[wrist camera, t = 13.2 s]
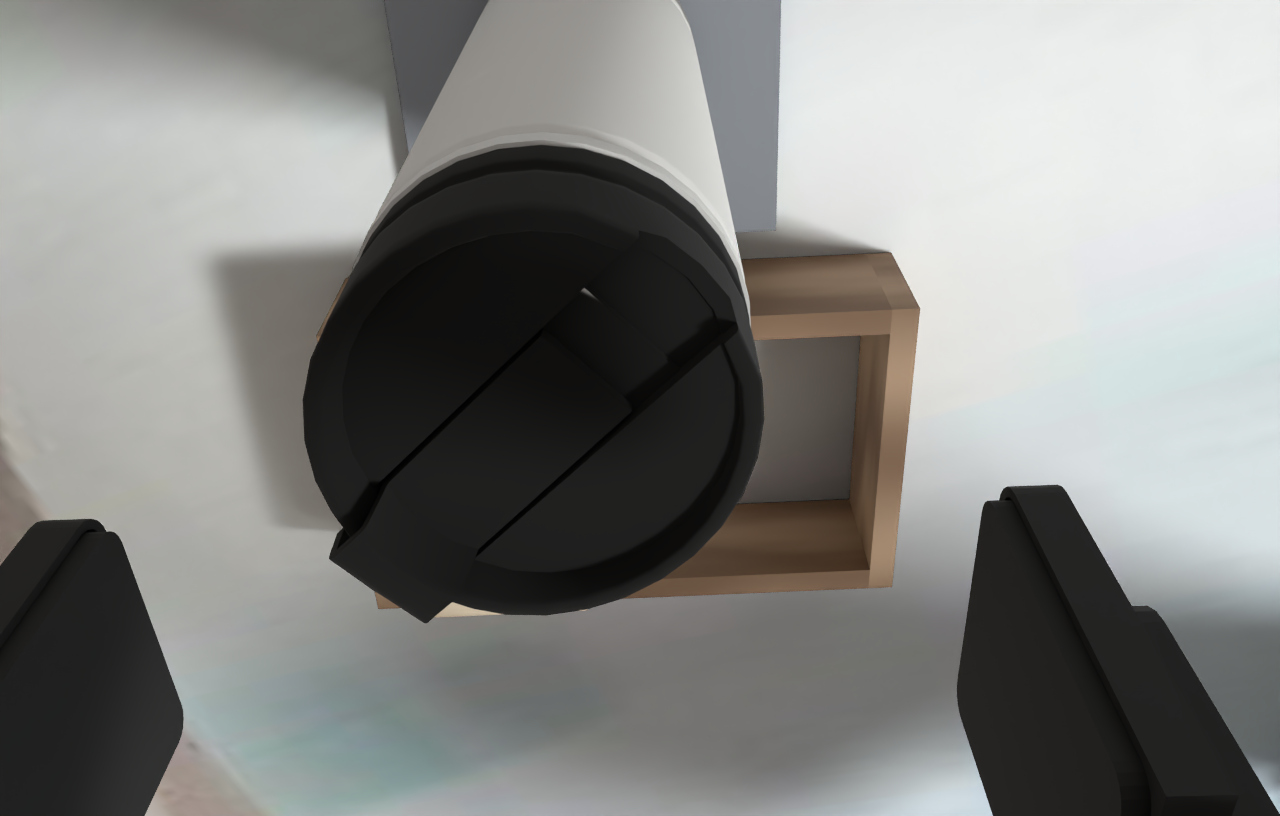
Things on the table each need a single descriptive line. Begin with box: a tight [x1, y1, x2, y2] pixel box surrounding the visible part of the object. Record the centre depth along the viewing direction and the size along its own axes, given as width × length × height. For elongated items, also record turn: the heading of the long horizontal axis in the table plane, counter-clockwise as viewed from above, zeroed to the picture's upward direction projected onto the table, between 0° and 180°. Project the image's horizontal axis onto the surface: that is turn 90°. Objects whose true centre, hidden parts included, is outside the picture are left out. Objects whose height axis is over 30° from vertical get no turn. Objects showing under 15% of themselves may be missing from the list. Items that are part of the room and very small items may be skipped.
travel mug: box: [303, 0, 764, 623], centre depth 23 cm, size 6×7×20 cm
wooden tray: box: [316, 253, 920, 609], centre depth 36 cm, size 11×18×4 cm, turn 93°
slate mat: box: [384, 0, 781, 232], centre depth 31 cm, size 11×11×1 cm
